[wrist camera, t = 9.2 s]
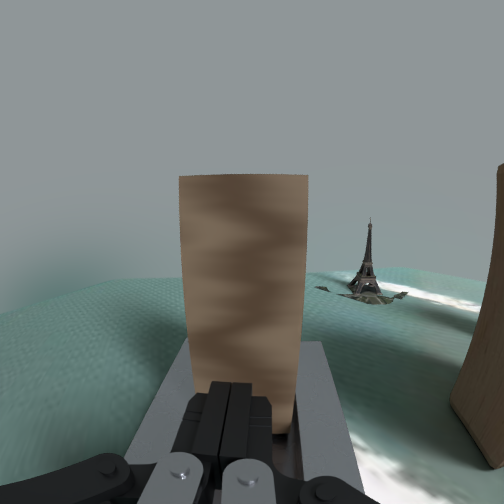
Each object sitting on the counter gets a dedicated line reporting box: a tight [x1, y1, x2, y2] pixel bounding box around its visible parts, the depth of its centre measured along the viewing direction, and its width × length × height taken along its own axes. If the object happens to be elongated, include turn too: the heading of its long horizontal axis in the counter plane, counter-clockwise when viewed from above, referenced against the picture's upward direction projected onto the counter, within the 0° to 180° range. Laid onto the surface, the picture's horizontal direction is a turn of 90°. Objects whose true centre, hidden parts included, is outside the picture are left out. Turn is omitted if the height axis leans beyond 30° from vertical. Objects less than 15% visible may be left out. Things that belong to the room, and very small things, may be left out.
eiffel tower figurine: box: [316, 223, 408, 304], centre depth 45 cm, size 15×10×13 cm
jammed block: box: [179, 174, 308, 434], centre depth 17 cm, size 6×6×16 cm
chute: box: [124, 337, 365, 504], centre depth 14 cm, size 14×24×3 cm, turn 177°
